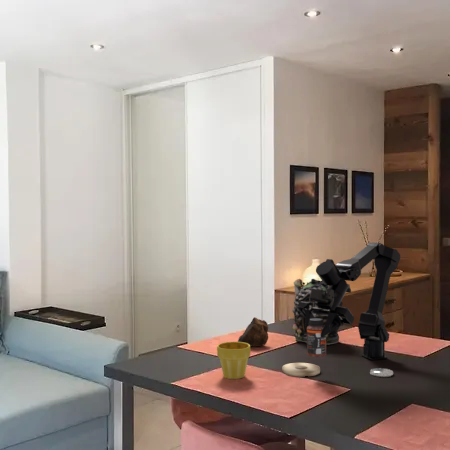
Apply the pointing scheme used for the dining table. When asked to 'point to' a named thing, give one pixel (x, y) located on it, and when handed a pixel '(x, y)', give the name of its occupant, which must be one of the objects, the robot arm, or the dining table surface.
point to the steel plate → (381, 372)
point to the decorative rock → (255, 333)
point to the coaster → (301, 369)
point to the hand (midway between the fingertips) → (313, 334)
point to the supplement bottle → (316, 338)
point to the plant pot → (233, 358)
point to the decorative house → (304, 295)
